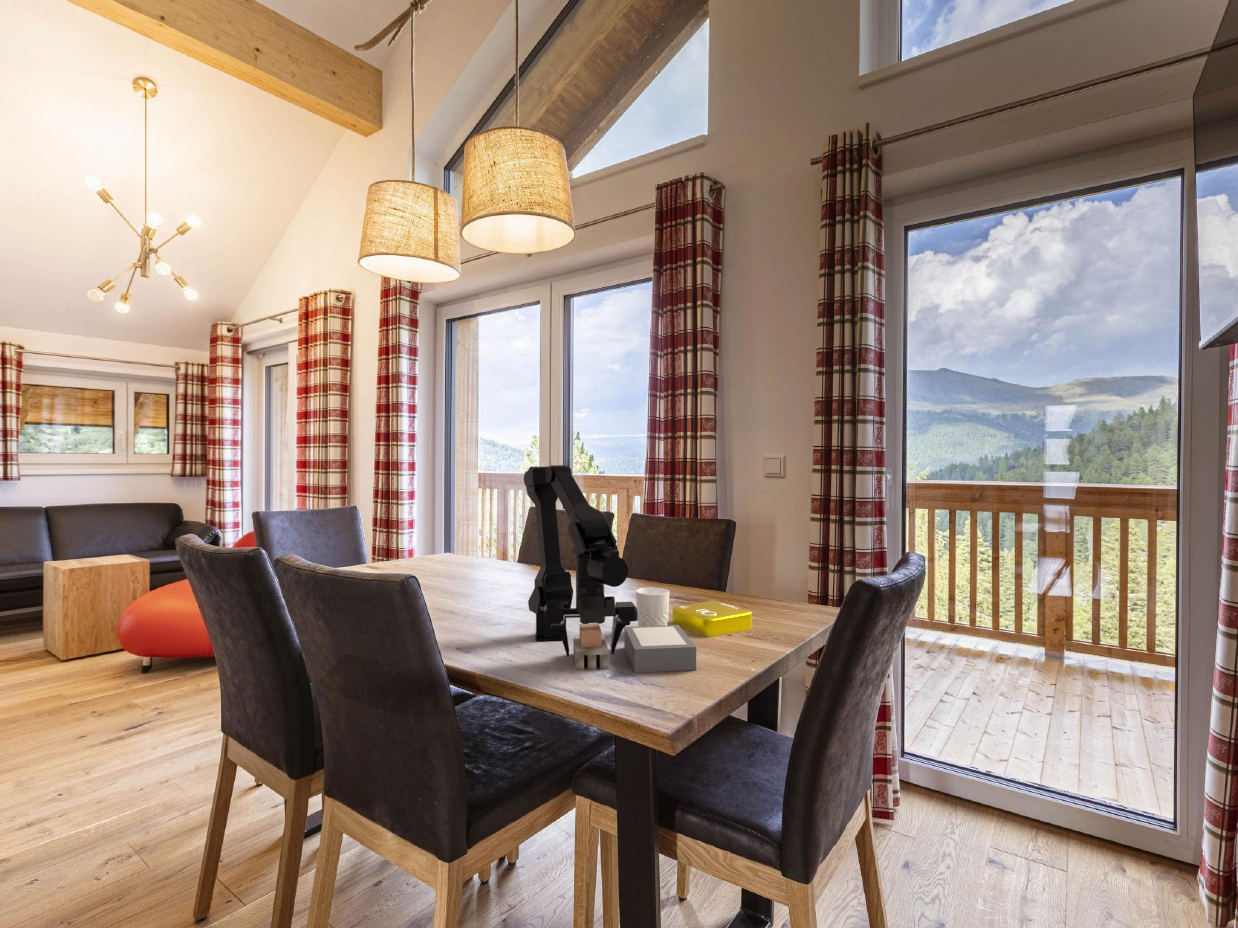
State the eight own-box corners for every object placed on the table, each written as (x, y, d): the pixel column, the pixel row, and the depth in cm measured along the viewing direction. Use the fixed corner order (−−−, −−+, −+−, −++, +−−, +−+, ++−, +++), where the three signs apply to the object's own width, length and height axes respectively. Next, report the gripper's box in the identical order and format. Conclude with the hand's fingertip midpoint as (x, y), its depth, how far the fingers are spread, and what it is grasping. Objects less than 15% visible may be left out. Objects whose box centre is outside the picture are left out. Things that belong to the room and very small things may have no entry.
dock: (635, 672, 119) (634, 648, 119) (624, 647, 135) (624, 626, 135) (696, 669, 120) (696, 646, 120) (678, 645, 136) (678, 624, 136)
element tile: (756, 629, 150) (756, 609, 150) (707, 639, 142) (707, 618, 142) (715, 616, 163) (715, 598, 163) (669, 624, 155) (669, 605, 155)
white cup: (657, 640, 140) (657, 596, 140) (629, 634, 145) (629, 591, 145) (675, 632, 146) (675, 590, 146) (648, 626, 151) (648, 586, 151)
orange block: (581, 646, 123) (581, 631, 123) (579, 638, 129) (579, 623, 129) (601, 646, 123) (601, 631, 123) (598, 637, 129) (598, 623, 129)
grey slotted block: (575, 670, 121) (575, 650, 121) (573, 654, 130) (573, 635, 130) (608, 669, 121) (608, 649, 121) (603, 653, 131) (603, 634, 131)
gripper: (543, 587, 117) (543, 670, 117) (641, 584, 119) (641, 666, 119) (543, 576, 128) (543, 651, 128) (633, 574, 130) (633, 648, 130)
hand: (590, 654), depth 126 cm, fingers open, 9 cm apart
